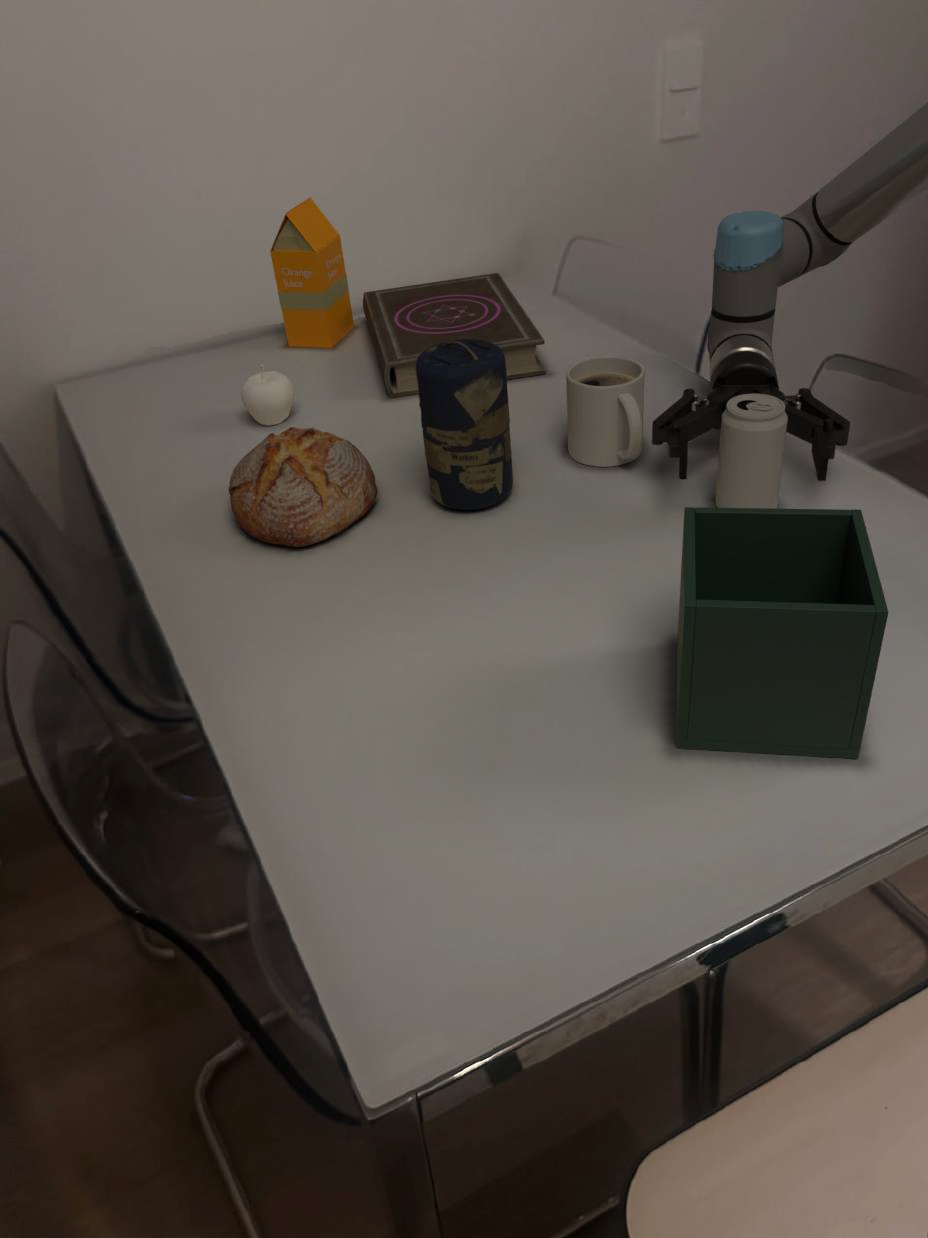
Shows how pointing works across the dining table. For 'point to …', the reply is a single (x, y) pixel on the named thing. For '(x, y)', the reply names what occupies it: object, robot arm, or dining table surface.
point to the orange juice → (311, 279)
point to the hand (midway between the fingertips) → (752, 468)
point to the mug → (605, 410)
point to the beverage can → (751, 452)
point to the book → (448, 326)
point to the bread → (301, 487)
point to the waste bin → (777, 631)
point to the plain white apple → (268, 396)
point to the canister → (465, 422)
